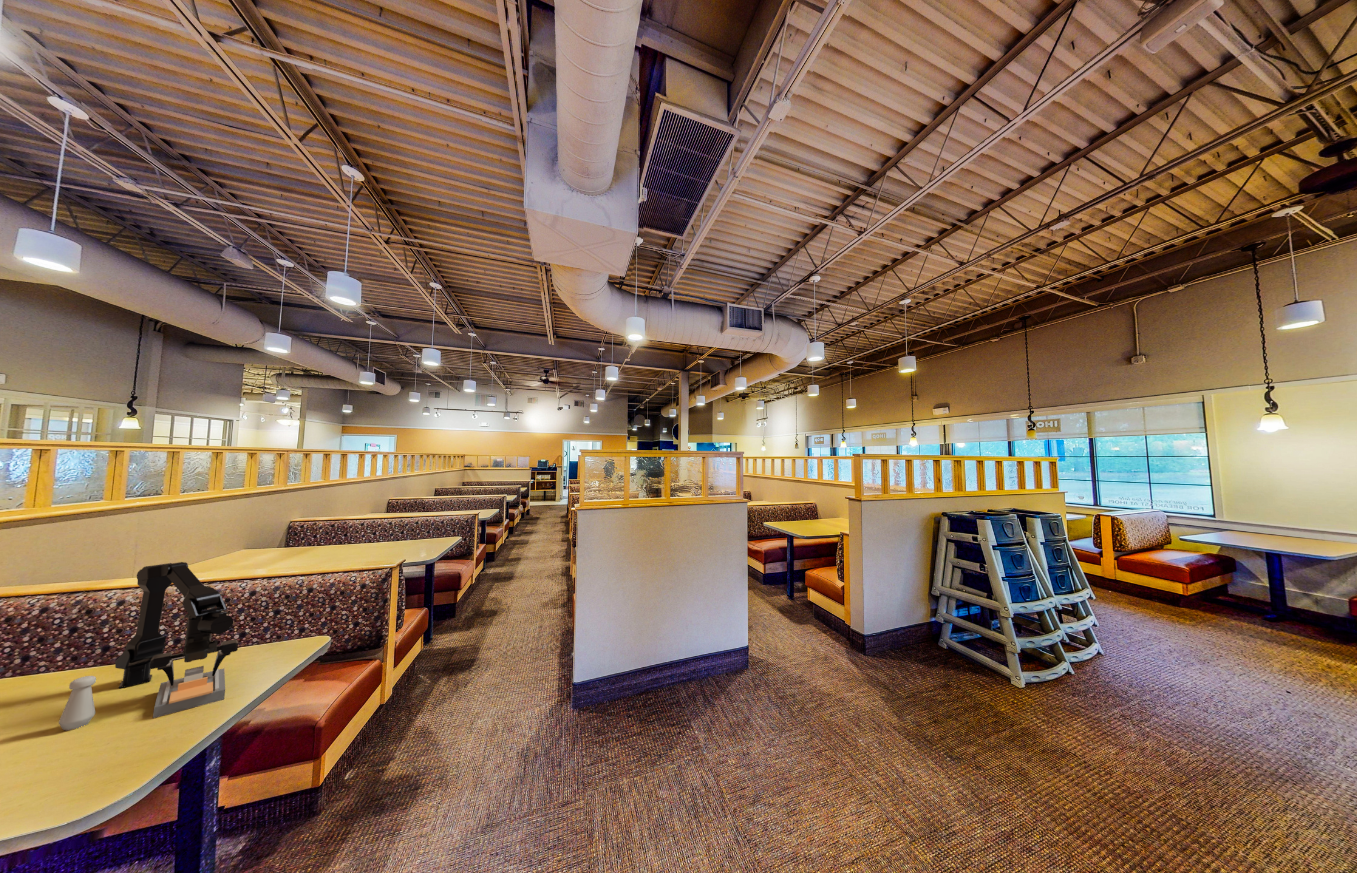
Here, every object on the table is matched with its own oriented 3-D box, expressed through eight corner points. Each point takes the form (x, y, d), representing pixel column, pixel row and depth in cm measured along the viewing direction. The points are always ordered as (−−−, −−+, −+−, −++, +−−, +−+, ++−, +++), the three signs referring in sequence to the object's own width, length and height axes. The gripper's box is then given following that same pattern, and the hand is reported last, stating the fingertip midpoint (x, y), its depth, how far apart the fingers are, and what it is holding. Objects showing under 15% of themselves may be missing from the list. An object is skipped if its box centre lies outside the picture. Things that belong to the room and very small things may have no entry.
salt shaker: (65, 733, 112) (73, 683, 113) (51, 731, 113) (59, 681, 114) (99, 721, 117) (106, 674, 119) (85, 719, 119) (92, 672, 120)
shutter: (170, 693, 126) (172, 685, 127) (212, 683, 133) (213, 675, 133) (168, 703, 121) (170, 694, 121) (212, 692, 127) (213, 683, 127)
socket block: (159, 692, 133) (161, 680, 134) (223, 677, 144) (224, 666, 144) (152, 718, 119) (154, 705, 119) (224, 699, 129) (225, 687, 130)
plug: (181, 696, 131) (184, 673, 132) (182, 692, 134) (185, 669, 135) (200, 691, 134) (203, 669, 135) (201, 687, 137) (203, 665, 138)
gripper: (151, 646, 124) (144, 700, 122) (241, 629, 138) (235, 678, 136) (155, 636, 131) (148, 687, 130) (239, 621, 145) (234, 668, 143)
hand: (193, 680), depth 134 cm, fingers open, 8 cm apart
